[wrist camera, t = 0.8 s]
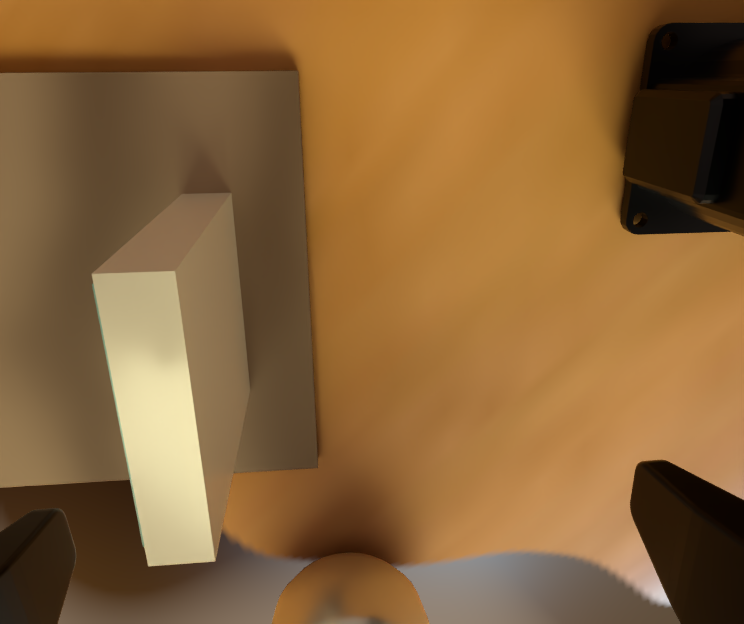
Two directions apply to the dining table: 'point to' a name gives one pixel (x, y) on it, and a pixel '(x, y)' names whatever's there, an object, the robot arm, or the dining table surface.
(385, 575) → the plastic bottle
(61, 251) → the board
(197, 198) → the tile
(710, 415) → the dining table surface
